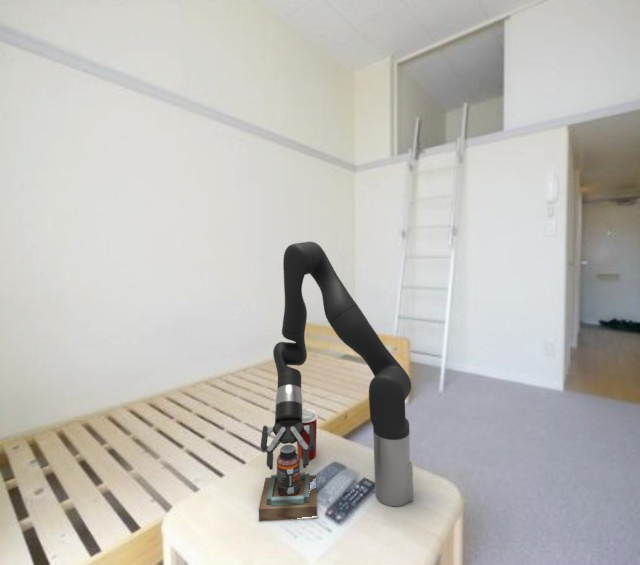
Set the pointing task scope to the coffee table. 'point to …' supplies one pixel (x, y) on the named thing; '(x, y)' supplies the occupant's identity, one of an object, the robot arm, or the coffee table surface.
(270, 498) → the walnut foundation
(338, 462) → the coffee table surface
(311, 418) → the paper cup
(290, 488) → the supplement bottle
